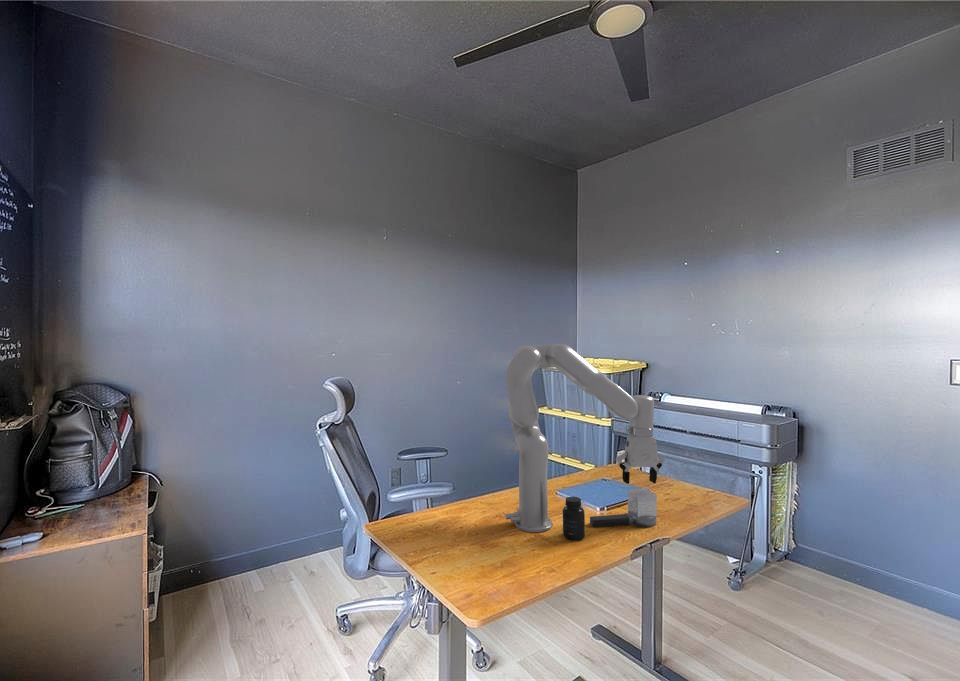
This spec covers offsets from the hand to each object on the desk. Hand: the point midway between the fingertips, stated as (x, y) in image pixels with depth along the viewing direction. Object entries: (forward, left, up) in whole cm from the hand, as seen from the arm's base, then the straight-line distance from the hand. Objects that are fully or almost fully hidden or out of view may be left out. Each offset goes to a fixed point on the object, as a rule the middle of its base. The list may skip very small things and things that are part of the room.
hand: (639, 482), depth 155 cm
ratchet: (-6, 0, -14) cm, 15 cm away
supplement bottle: (-26, -7, -14) cm, 30 cm away
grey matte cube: (+1, 0, -11) cm, 10 cm away
